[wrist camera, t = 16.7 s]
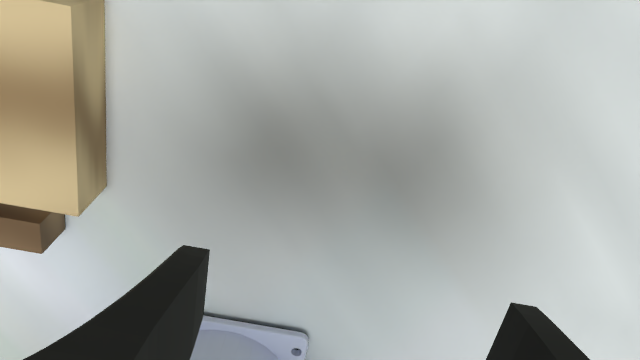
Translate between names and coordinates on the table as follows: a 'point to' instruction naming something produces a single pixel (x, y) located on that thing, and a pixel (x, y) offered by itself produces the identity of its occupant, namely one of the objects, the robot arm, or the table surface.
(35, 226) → the walnut frame
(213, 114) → the table surface
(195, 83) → the table surface
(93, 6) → the oak slab
